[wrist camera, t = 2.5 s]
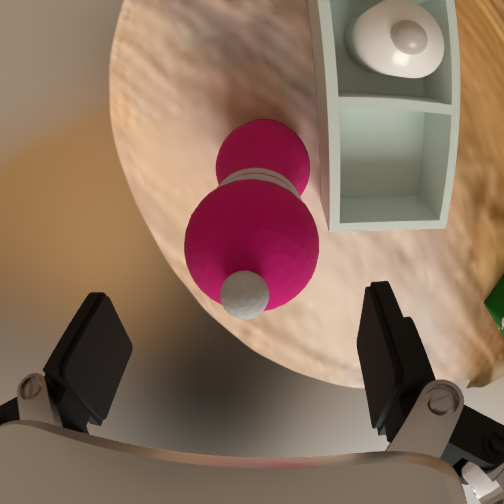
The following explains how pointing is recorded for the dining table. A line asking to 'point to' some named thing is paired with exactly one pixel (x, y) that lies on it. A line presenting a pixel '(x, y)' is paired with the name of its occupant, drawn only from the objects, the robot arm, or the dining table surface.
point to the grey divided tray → (384, 128)
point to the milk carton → (497, 305)
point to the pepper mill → (254, 223)
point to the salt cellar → (395, 40)
